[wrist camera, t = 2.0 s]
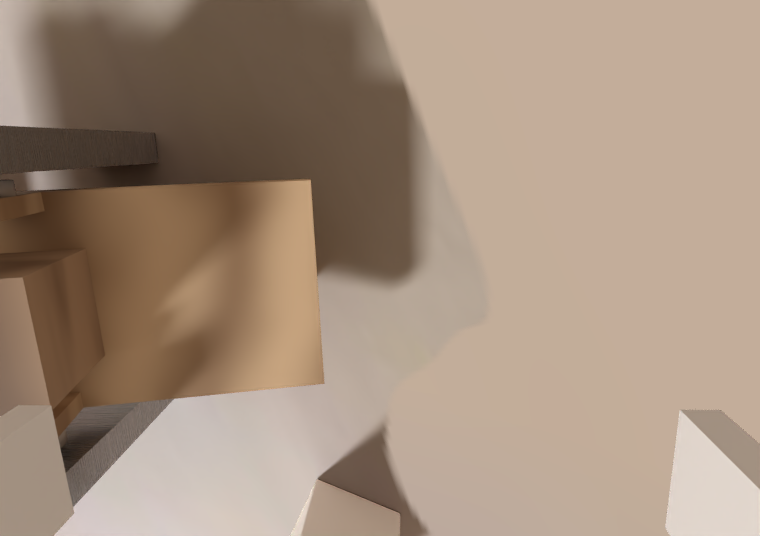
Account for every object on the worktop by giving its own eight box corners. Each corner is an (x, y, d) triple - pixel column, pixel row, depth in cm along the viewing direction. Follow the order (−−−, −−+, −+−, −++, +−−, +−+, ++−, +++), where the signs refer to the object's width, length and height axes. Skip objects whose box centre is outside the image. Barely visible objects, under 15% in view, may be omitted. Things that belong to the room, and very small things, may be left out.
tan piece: (-123, 390, 27) (-326, 506, 18) (-187, 182, 24) (-462, 200, 15) (321, 350, 30) (328, 431, 21) (308, 163, 27) (310, 169, 19)
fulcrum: (133, 382, 31) (-13, 507, 20) (91, 135, 27) (-113, 129, 17) (188, 382, 31) (70, 509, 20) (154, 132, 27) (-13, 125, 16)
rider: (-15, 365, 22) (-105, 426, 17) (-42, 255, 21) (-147, 288, 16) (105, 355, 23) (51, 410, 18) (85, 248, 21) (22, 277, 17)
